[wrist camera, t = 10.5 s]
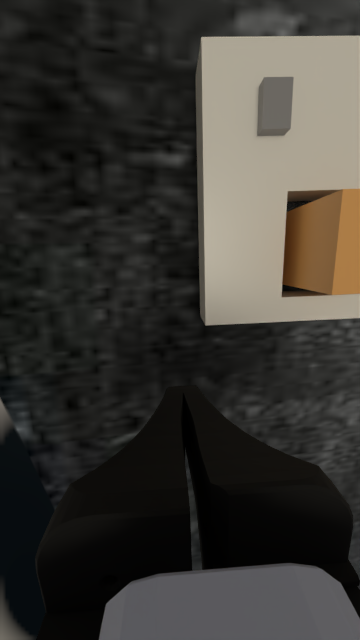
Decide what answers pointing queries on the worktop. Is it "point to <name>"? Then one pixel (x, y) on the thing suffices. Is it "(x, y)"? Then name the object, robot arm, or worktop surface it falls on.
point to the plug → (324, 244)
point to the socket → (270, 166)
